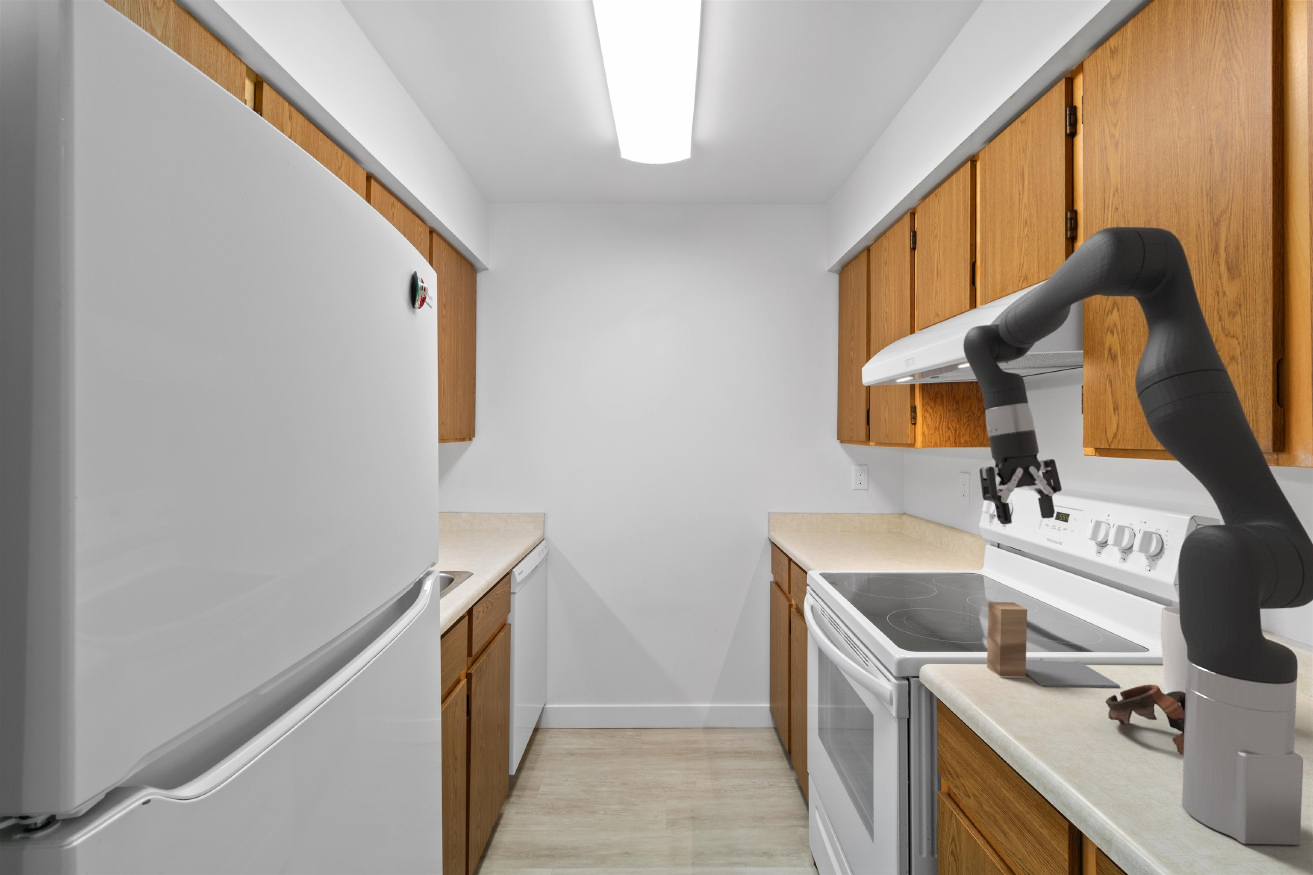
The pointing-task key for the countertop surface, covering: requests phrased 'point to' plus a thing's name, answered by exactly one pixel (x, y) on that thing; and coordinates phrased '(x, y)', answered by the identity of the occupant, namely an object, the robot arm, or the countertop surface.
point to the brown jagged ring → (1150, 707)
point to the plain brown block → (1007, 639)
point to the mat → (1066, 674)
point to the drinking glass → (1173, 650)
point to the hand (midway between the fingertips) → (1027, 520)
